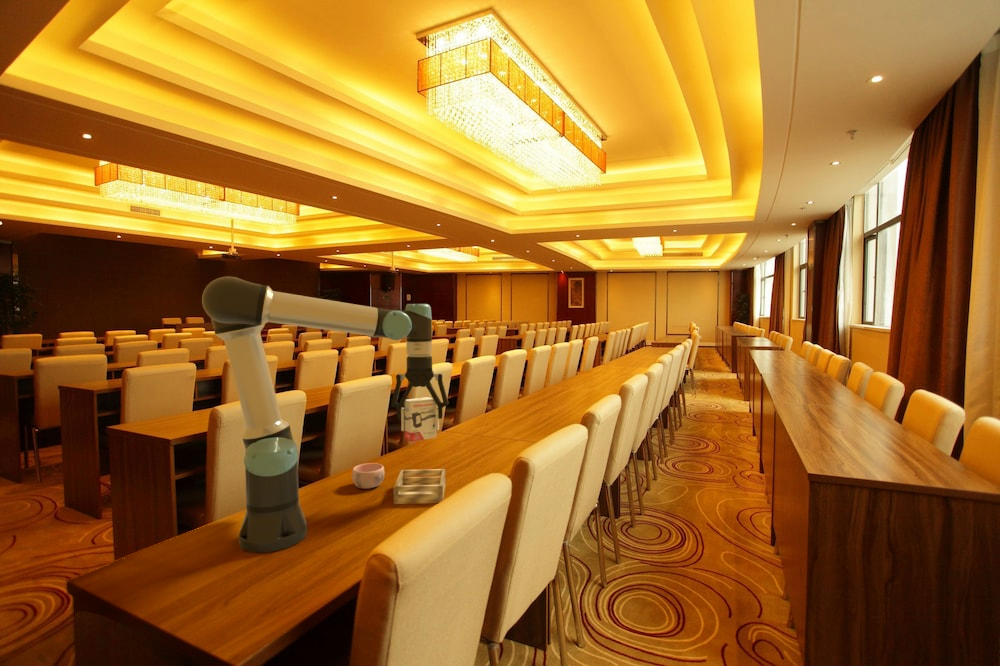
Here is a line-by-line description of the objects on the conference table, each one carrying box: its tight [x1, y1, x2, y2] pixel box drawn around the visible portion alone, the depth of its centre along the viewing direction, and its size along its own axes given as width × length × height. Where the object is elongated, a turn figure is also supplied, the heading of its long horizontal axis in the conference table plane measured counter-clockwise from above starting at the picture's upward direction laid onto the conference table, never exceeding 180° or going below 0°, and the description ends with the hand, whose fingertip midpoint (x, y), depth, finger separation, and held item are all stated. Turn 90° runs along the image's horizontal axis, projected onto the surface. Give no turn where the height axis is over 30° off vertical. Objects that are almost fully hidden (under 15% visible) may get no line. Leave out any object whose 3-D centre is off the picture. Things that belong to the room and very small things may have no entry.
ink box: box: [403, 396, 437, 443], centre depth 148 cm, size 8×5×12 cm, turn 123°
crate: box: [393, 468, 447, 505], centre depth 149 cm, size 14×15×5 cm
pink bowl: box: [351, 462, 385, 489], centre depth 157 cm, size 12×10×6 cm
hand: (420, 429), depth 148 cm, fingers closed on ink box, 9 cm apart
